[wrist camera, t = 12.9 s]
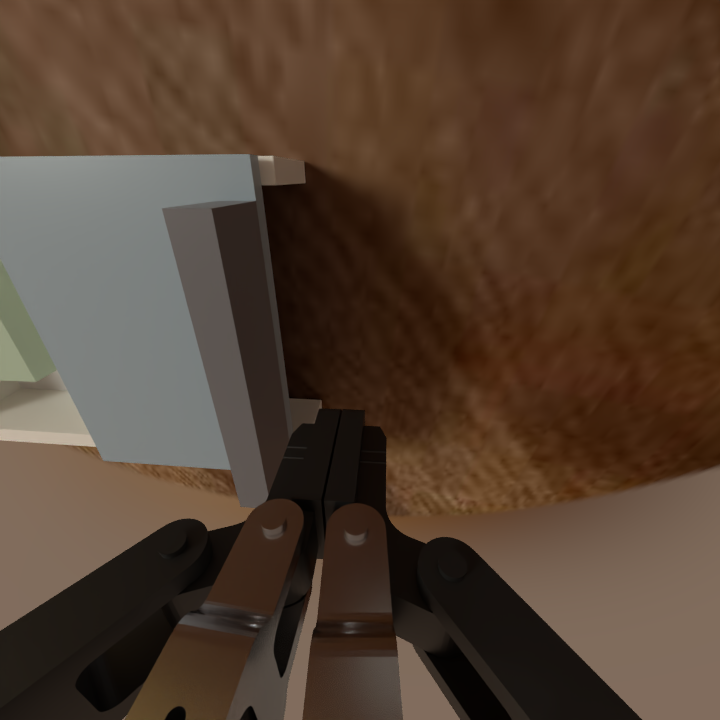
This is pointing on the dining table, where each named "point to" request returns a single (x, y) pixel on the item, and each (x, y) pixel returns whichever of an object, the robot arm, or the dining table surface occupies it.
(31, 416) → the housing
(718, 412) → the dining table surface
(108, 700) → the robot arm
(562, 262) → the dining table surface
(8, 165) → the lid
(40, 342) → the pale green block
